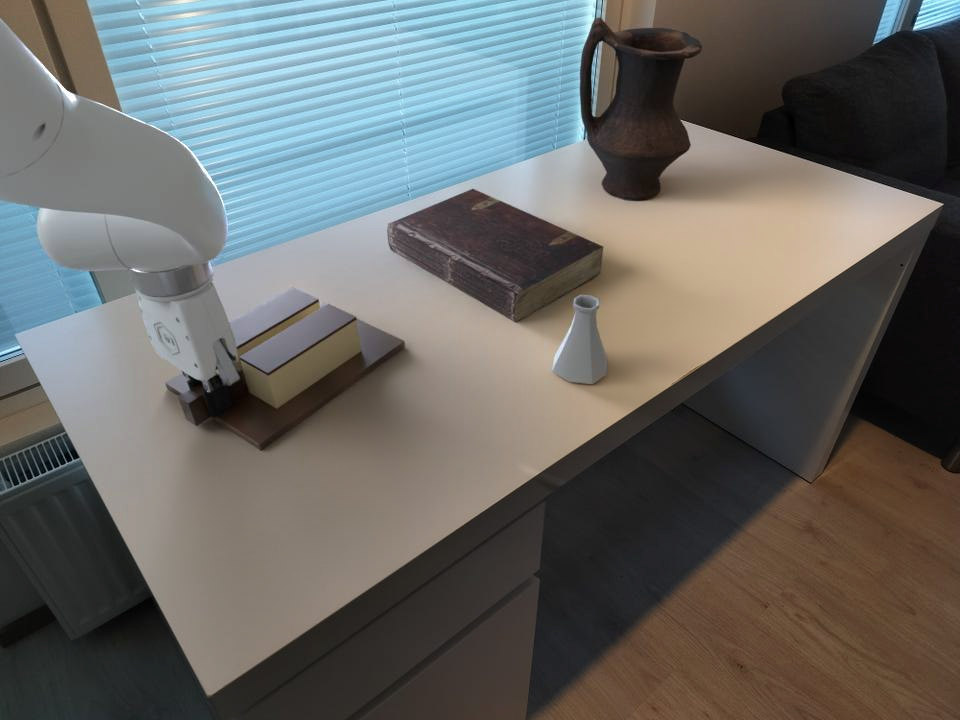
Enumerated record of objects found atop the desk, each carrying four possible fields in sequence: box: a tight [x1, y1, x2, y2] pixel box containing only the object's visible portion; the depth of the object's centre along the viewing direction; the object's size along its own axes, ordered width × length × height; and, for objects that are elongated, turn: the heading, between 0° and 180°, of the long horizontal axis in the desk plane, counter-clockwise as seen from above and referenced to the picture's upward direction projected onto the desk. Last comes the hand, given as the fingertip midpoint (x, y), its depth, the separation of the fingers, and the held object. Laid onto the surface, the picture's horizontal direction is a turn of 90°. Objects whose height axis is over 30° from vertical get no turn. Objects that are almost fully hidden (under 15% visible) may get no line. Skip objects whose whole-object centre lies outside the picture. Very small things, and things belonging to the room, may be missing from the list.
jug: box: [579, 16, 703, 201], centre depth 122 cm, size 21×18×30 cm
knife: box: [177, 367, 248, 427], centre depth 82 cm, size 15×2×4 cm, turn 143°
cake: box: [215, 286, 361, 409], centre depth 86 cm, size 14×12×5 cm
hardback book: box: [386, 188, 604, 323], centre depth 107 cm, size 29×19×5 cm, turn 43°
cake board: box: [164, 300, 406, 451], centre depth 88 cm, size 24×18×1 cm
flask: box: [551, 294, 608, 385], centre depth 84 cm, size 7×7×10 cm
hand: (215, 404), depth 80 cm, fingers closed on knife, 2 cm apart
